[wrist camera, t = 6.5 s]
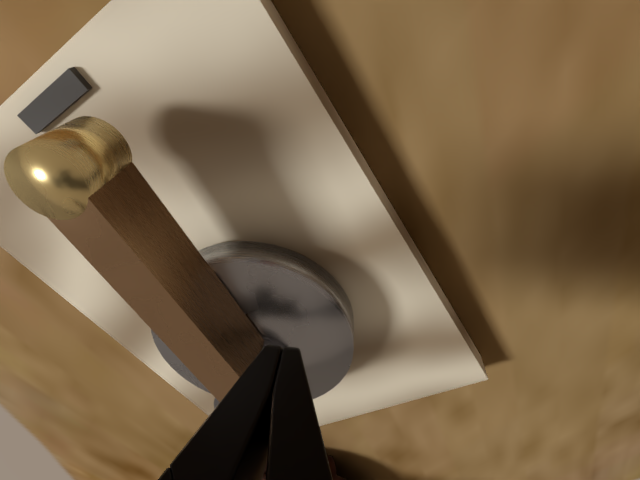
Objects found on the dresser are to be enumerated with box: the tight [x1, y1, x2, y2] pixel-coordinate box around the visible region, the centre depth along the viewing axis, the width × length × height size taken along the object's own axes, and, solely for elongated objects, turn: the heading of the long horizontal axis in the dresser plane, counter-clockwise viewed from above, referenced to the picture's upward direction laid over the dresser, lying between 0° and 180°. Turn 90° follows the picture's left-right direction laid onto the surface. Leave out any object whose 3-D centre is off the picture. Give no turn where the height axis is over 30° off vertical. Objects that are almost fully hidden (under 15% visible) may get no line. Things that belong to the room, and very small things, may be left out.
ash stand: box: [0, 0, 488, 426], centre depth 19 cm, size 22×16×2 cm
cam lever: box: [4, 116, 354, 409], centre depth 15 cm, size 15×9×4 cm, turn 25°
